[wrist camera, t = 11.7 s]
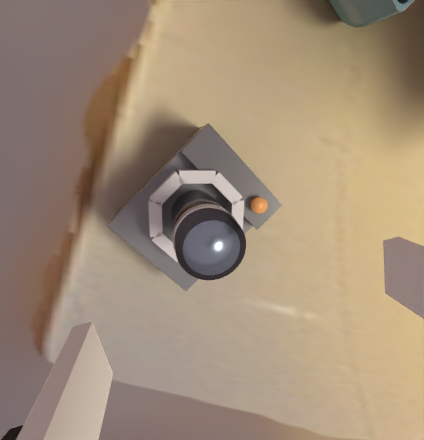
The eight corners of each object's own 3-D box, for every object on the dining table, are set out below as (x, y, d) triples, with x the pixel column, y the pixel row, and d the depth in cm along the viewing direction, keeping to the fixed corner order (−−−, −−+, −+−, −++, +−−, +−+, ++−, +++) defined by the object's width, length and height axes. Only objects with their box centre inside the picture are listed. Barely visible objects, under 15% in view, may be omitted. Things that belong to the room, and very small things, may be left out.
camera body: (199, 127, 32) (210, 122, 25) (261, 194, 35) (285, 206, 28) (115, 214, 33) (102, 233, 26) (182, 271, 36) (187, 302, 29)
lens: (164, 196, 28) (164, 224, 18) (213, 183, 29) (239, 203, 19) (178, 243, 29) (185, 292, 20) (224, 230, 30) (254, 270, 20)
